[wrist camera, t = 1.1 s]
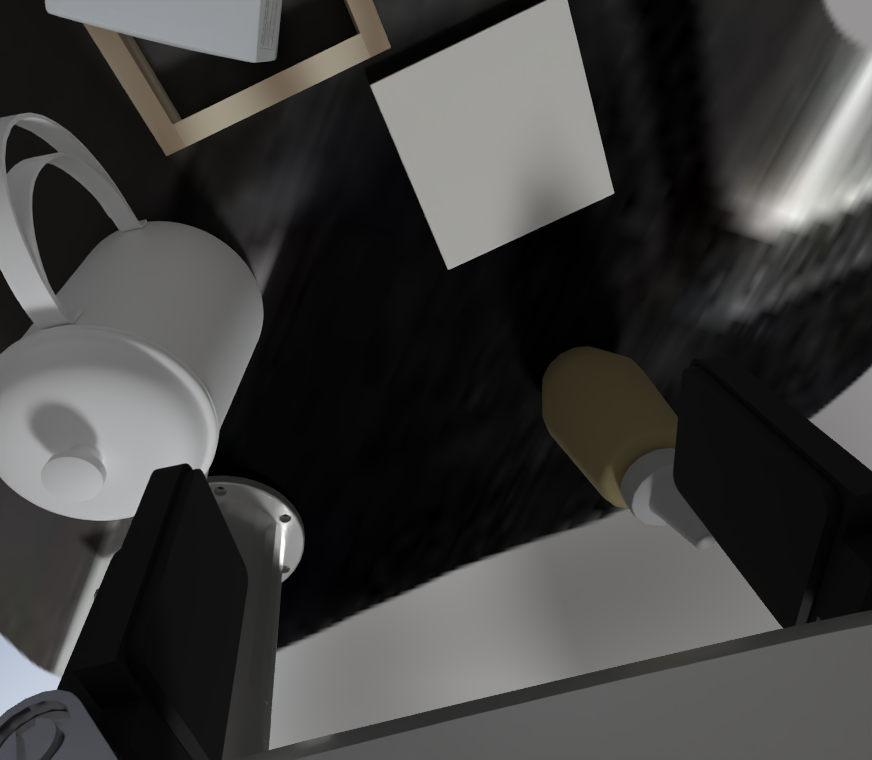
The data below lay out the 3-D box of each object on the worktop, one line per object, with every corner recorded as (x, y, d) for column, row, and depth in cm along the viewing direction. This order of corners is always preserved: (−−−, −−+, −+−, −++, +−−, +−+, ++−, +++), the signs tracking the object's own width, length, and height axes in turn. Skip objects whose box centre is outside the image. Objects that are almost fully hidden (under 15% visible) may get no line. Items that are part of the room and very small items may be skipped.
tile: (446, 266, 40) (448, 269, 39) (369, 84, 34) (370, 85, 33) (609, 191, 39) (614, 193, 39) (560, -8, 33) (565, -9, 33)
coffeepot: (171, 475, 44) (83, 717, 28) (-8, 119, 32) (-352, 184, 16) (313, 442, 45) (308, 659, 29) (193, 81, 33) (64, 104, 16)
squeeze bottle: (645, 359, 46) (808, 510, 31) (583, 436, 49) (704, 611, 34) (569, 313, 43) (707, 456, 28) (507, 398, 46) (601, 572, 30)
